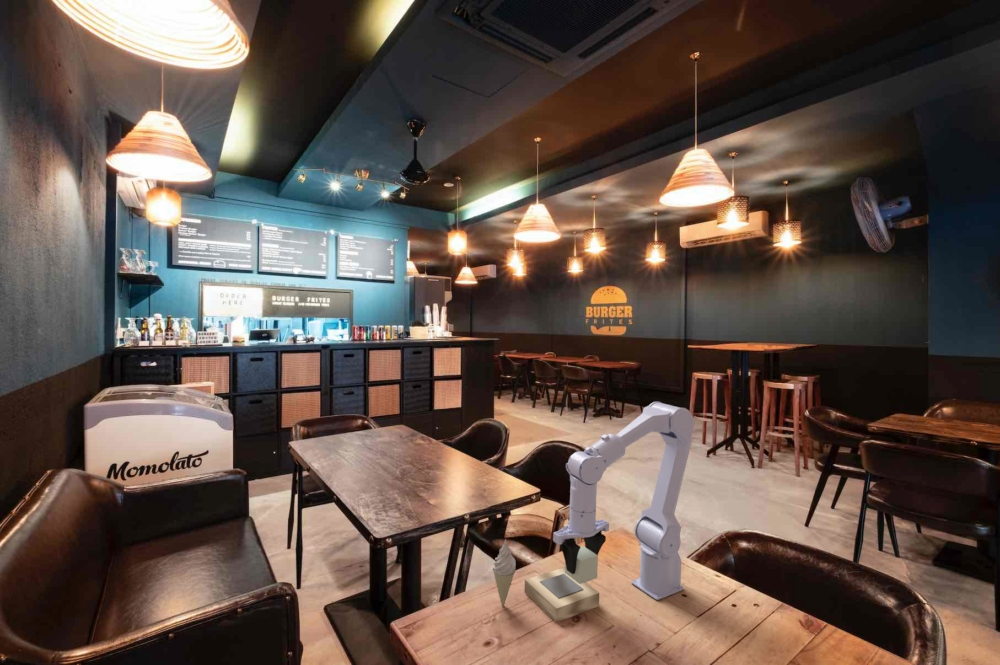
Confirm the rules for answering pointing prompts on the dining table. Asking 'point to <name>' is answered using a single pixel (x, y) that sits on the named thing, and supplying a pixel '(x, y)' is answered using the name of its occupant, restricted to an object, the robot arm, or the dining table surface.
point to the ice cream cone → (504, 571)
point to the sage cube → (584, 566)
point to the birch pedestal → (561, 594)
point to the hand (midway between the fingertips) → (580, 568)
